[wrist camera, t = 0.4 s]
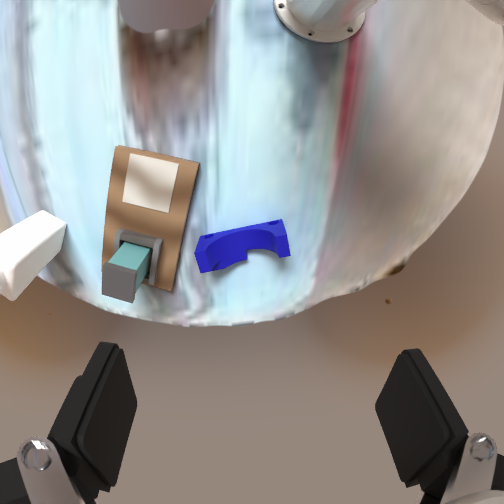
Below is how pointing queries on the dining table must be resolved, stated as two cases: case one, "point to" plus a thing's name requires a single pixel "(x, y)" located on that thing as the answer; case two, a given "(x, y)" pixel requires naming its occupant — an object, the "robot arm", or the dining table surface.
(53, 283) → the dining table surface
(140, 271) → the plug
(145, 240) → the board
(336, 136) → the dining table surface
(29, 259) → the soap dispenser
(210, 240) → the cable clip
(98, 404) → the robot arm
